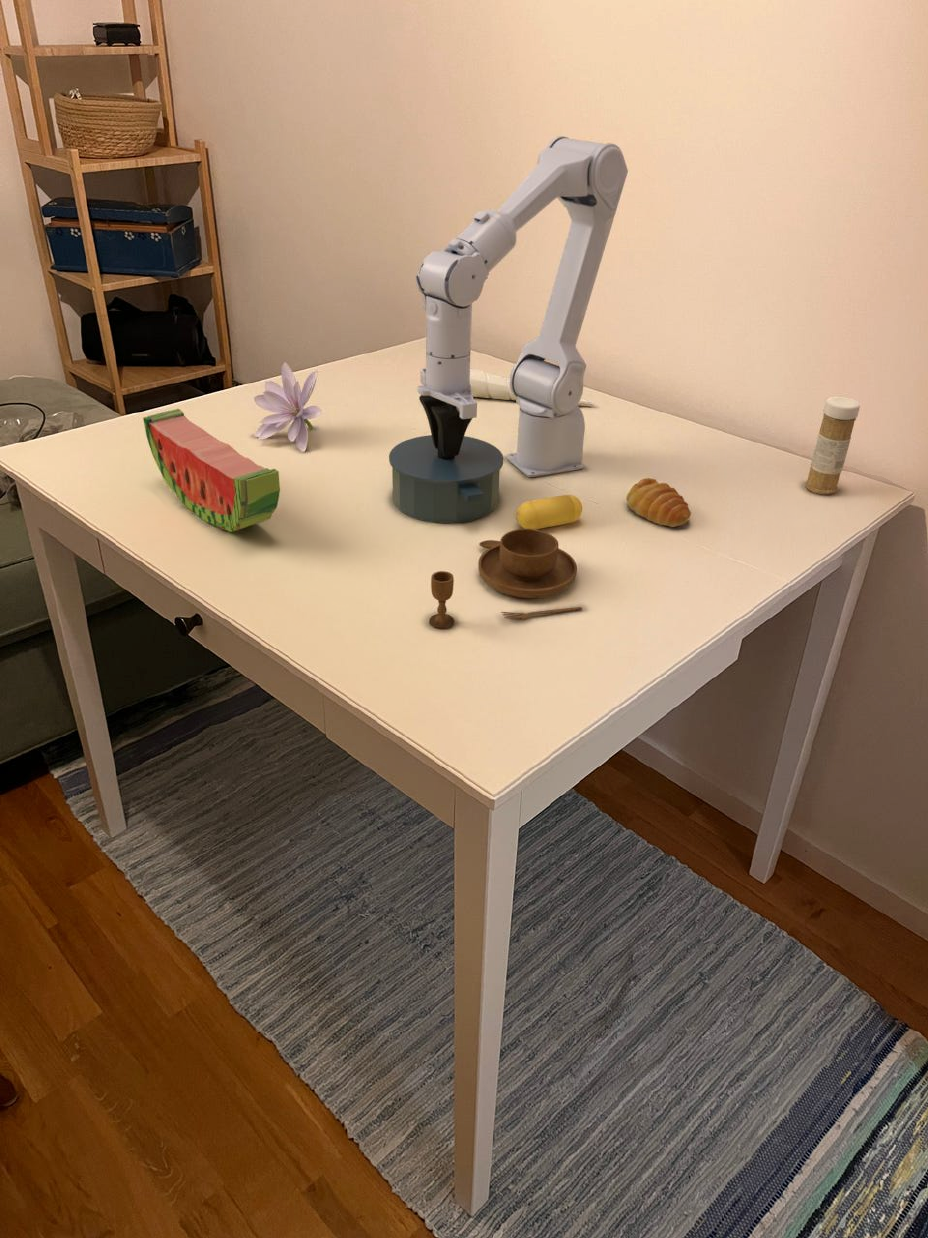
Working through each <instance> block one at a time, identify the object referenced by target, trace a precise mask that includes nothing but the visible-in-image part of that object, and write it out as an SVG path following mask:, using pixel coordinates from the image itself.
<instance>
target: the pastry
mask: <svg viewBox="0 0 928 1238" xmlns="http://www.w3.org/2000/svg"><path fill="white" fill-rule="evenodd" d="M625 499H626V503H627V504H628V506H629V508H630V510H631V511H634V512H635V513H636V515H638V516H640V517H641V518H645V519H647V520H648V521H649V522H653V524H657V525H659V526H669V527H671V528H674V527H679V526H681V525H685V524H686V523H688V521H689V519H690V518H691V515H692V511H691V510H690V508H689V504H688V502H686V501H685V499H684V497H683V496H682V495H680V494H679V492H678V491H677V489H676V488H675V487H671V486H670V485H669V484H668V483H667V482H659V481H657V479H655V478H653V477H652V478H651V477H647V478H642V479H640V480H639V481H638V482H636V483H634V485H632V487H631V488H630V490H629V491H628V493H627V494H626V497H625Z"/></svg>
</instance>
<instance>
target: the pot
mask: <svg viewBox="0 0 928 1238" xmlns="http://www.w3.org/2000/svg"><path fill="white" fill-rule="evenodd" d="M391 469H392V471H391V472H392V473H391V474H392V501H393V504H394V506H395V507H396V509H398V510H399V511H400V512H401V513H402V514H405V515H406V516H408V517H410V518H413V519H416V520H419V521H423V522H428V523H436V524H458V523H459V524H460V523H466V522H471V521H475V520H478V519H481V518H483V517H485V516H487V515H489V514H490V513H492V512H493V511H494V510H495V509H496V507H497V505H498V502H499V493H500V492H499V491H500V475H501V473H500V472H501V469H500V470H499V471H498V472H497V473H495V474H494V475H492V476H490V477H488V478H485V479H482V480H479V481H475V482H469V483H461V484H437V483H428V482H423V481H418V480H415V479H411V478H409V477H406V476H404V475H402V474H400V473H398V472H397V471H396V470H394V469H393V468H392V467H391Z"/></svg>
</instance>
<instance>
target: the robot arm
mask: <svg viewBox="0 0 928 1238" xmlns="http://www.w3.org/2000/svg"><path fill="white" fill-rule="evenodd" d="M623 154H624V153H623V151H622V149H621V147H619V146H618V145H617V144H615V143H611V142H607V143H601V142H596V141H588V140H582V139H575V138H569V137H567V136H563V135H559V136H556V137H554V138H553V139H552V140H551V141H549V143H548V144H547V146H546V147H544V148H543V149H542V150H540V151H539V153H538V156H537V163H536V166H535V167H534V168H533V169H532V171H531V172H530V173H529V174H528V175H527V176H526V177H525V179H524V180H523V181H522V182H521V183H520V185H518V187H517V188H516V189H515V190H514V191H513V192H512V193H511V194H510V196H509V197H508V199H506V200H505V201H504V203H503V204H502V205H501V206H500V207H499V208H498V209H497V210H496V209H485V210H483V211H480V210H478V212H477V213H476V214H475V215H473V221H472V222H471V223H470V224H468V225H467V227H466V228H465V229H464V230H462V231H461V232H460V233H459V234H458V235H457V236H456V237H455V238H452V240H450V241H449V242H448V245H447V246H446V247H445V248H444V250H443V249H439V250H433V251H432V252H431V253H428V255H427V256H425V258H424V259H423V260H422V262H421V264H420V266H419V269H418V274H416V275H415V284H416V287H417V290H418V291H419V293H420V295H421V296H422V300H423V303H422V305H423V306H422V308H423V309H424V310H425V368H421V369H420V383H421V384H422V385H418V386H417V387H416V390H417V393H418V394H419V395H420V396H419V398H418V400H419V403H420V404H421V406H422V408H423V410H424V413H425V415H426V417H427V421H428V426H429V430H430V435H432V439H433V443H434V446H435V448H436V449H438V428H439V433H440V443H441V450H442V454H443V456H444V457H451V456H457V455H459V452H460V448H461V445H462V441H463V438H464V436H465V435H466V432H467V429H468V427H469V425H470V423H471V422H472V420H473V419H474V418H475V419H476V418H477V415H478V403H477V401H476V400H475V399H474V397H473V394H472V389H471V385H470V368H471V349H472V322H473V321H472V320H473V318H472V317H473V303H474V302H476V301H478V299H479V298H480V296H481V295H482V292H483V288H484V285H485V282H486V281H487V279H488V277H489V275H490V272H491V271H493V269H494V268H495V267H496V266H497V265H499V263H500V262H501V261H502V260H503V259H505V257H506V256H508V254H509V253H510V252H511V251H513V249H515V247H516V244H517V233H518V231H520V230H521V229H522V228H524V226H526V225H527V224H528V222H530V221H531V220H533V219H534V218H535V217H536V216H537V215H539V214H540V213H541V212H542V211H544V210H545V209H546V208H547V207H548V206H549V205H550V204H551V203H552V202H553V201H555V200H558V201H559V202H560V203H561V204H562V206H563V207H564V208H565V209H566V211H567V214H568V216H569V217H570V221H571V223H570V227H569V230H568V233H567V237H566V240H565V244H564V247H563V251H562V255H561V257H560V258H561V259H560V260H559V261H560V262H559V265H558V268H557V272H556V275H555V278H554V282H553V286H552V289H551V293H550V297H549V300H548V303H547V306H546V311H545V314H544V318H543V321H542V324H541V328H540V331H539V335H538V336H537V337H536V338H534V339H531V340H530V341H528V342H526V343H525V344H524V345H523V346H522V349H521V352H520V355H519V357H518V359H517V361H516V362H515V364H514V365H513V367H512V369H511V371H510V375H509V378H510V389H511V392H512V393H513V394H514V395H515V396H516V397H517V401H516V405H517V406H519V415H518V428H517V429H518V431H517V442H516V443H517V445H516V452H514V453H508V454H506V455H505V458H506V460H508V461H509V462H510V463H511V464H512V465H513V466H515V467H516V468H517V469H518V470H519V471H520V472H521V473H523V474H524V475H525V476H526V477H527V478H534V477H541V476H547V475H554V474H559V473H564V472H571V471H577V470H583V469H584V467H585V466H584V464H582V458H583V451H584V441H585V433H586V432H585V430H586V423H585V416H584V414H583V411H582V410H581V408H580V407H579V405H577V404H578V403H579V401H580V399H582V396H583V391H584V375H585V372H586V369H587V364H586V362H585V360H584V358H583V356H582V355H581V354H580V352H579V350H578V348H577V344H578V343H577V342H578V340H579V336H580V333H581V330H582V326H583V322H584V319H585V316H586V313H587V310H588V306H589V303H590V299H591V297H592V292H593V291H594V286H595V284H596V283H595V282H596V279H597V276H598V273H599V270H600V266H601V263H602V260H603V256H604V253H605V251H606V250H605V249H606V246H607V242H608V239H609V236H610V233H611V230H612V226H613V222H614V218H615V215H616V213H617V209H618V207H619V203H620V200H621V196H622V193H623V189H624V187H625V183H626V180H627V176H628V173H629V170H628V167H627V164H626V160H625V157H624V155H623ZM546 360H548V361H551V362H548V361H546ZM552 362H553V363H552ZM554 363H556V364H554Z"/></svg>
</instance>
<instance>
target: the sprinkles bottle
mask: <svg viewBox="0 0 928 1238" xmlns="http://www.w3.org/2000/svg"><path fill="white" fill-rule="evenodd" d="M860 408H861V404H860V402H859V401H858V400H856V399H854V398H851V397H846V396H839V395H838V396H836V395H835V396H831V397H828V398H827V399H826V400H825V403H824V406H823V409H822V410H823V411H822V412H823V416H822V421H821V423H820V428H819V432H818V435H817V438H816V443H815V446H814V449H813V454H812V456H811V457H812V458H811V461H810V467H809V472H808V476H807V480H806V481H805V487H806V489H807V490H809V491H811V492H812V493H815V494H819V495H833V494H835V493H836V492H837V491H838V486H839V485H838V484H839V481H840V478H841V473H842V472H843V469H844V465H845V461H846V458H847V454H848V450H849V447H850V443H851V440H852V433H853V429H854V425H855V422H856V420H857V418H858V415H859V412H860Z"/></svg>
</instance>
